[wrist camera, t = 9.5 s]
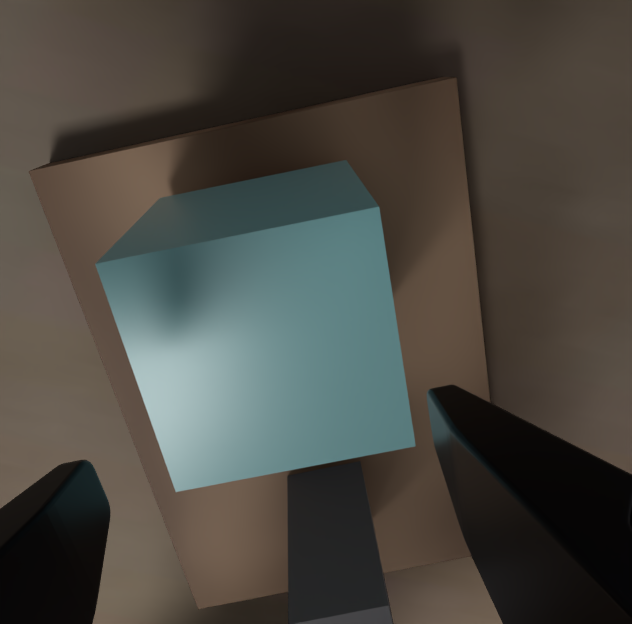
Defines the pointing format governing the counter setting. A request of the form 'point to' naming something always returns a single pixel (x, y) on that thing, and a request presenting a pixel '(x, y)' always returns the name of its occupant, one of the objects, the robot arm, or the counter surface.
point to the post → (333, 550)
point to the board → (408, 295)
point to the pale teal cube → (262, 326)
